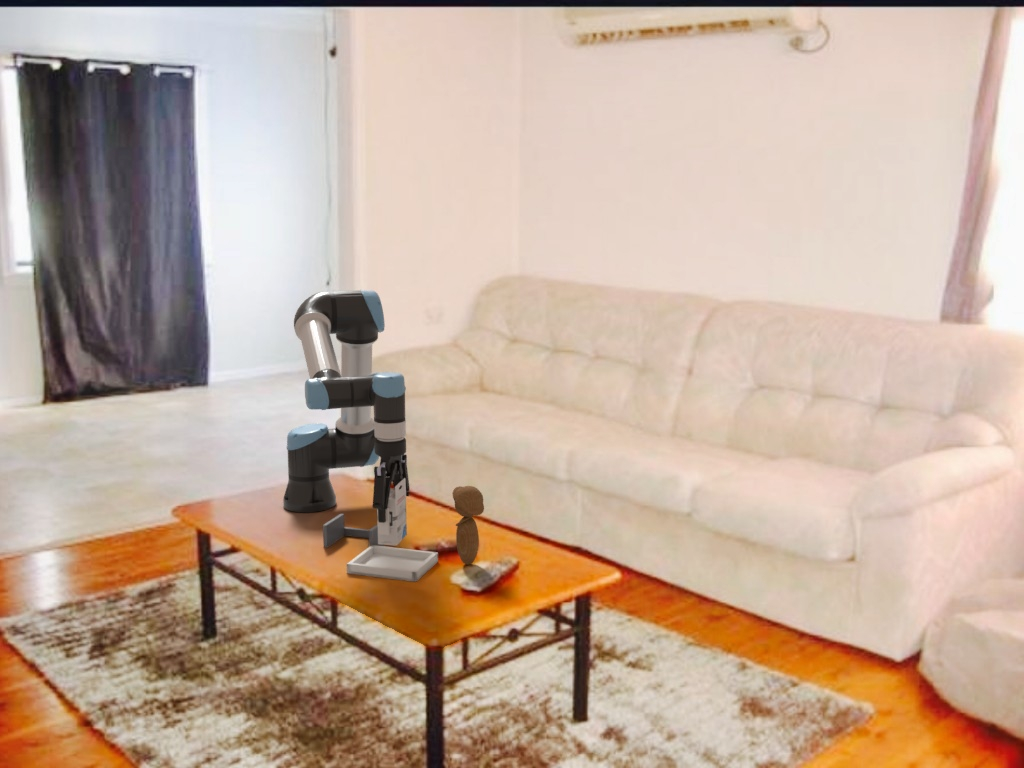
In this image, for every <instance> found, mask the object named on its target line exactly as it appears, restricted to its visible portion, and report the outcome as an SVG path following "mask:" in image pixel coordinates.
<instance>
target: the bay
mask: <svg viewBox="0 0 1024 768" xmlns="http://www.w3.org/2000/svg"><path fill="white" fill-rule="evenodd" d="M345 524H346V523H345V514H344V513H339V514H337V515H336V516H335V517H333V518H332V519H330V520H329V521H326V522H325V523H324V524H323V525H322V537H323V541H322V542H323V548H326V549H328V548H329V547H330V546H332V545H333V544H335V543H336V542H338V541H339V540H341V539H342V538H343V537H344V536H346V537H348V536H349V537H355V538H356V537H357V538H362V539H365V538H366V539H368V547H370V546H371V545H378V546H384V545H380V544H378V524H376V525H373V527H371V528H370V529H368V528H367V529H366V528H359V527H358V528H356V527H349V526H348V527H347V526H345Z"/></svg>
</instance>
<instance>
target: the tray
mask: <svg viewBox="0 0 1024 768" xmlns="http://www.w3.org/2000/svg"><path fill="white" fill-rule="evenodd" d="M438 562H439V552H436V551H427V550H418V549H413V548H412V549H411V548H402V547H401V548H400V547H396V546H395V547H394V546H393V547H392V546H387V545H383V546H378V545H371V546H370V547H369V546H368V547H367V548H366V549H365V550H363V551H362V552H360V553H358V555H356V556H355V557H354V558H353V559H351V560H350V561H348V562H347V563H346V574H351V575H359V576H367V577H374V578H380V579H381V578H382V579H390V580H398V581H403V582H404V581H407V582H418V581H419V580H420V579H421V578H422V577H423V576H424V575H425V574H426V573H427V572H429V571H430V570H431V569H432V568H433V567H434V566H435V565H436V564H437V563H438Z"/></svg>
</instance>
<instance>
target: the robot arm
mask: <svg viewBox="0 0 1024 768" xmlns="http://www.w3.org/2000/svg"><path fill="white" fill-rule="evenodd" d="M293 327H294V332H295V336H296V337H297V338H298V339H299V340H300V342H301V345H302V350H303V354H304V358H305V363H306V367H307V373H308V376H309V379H306V381H305V383H304V398H305V399H304V400H305V404H306V407H307V408H308V409H309V410H321V411H326V410H333V409H335V410H336V409H337V410H338V409H340V417H339V418H338V419H337V420H336V421H335V427H334V428H329V427H328V425H327V424H326V423H309V424H305V425H301V426H298V427H295V428H293V429H292V430H290V431H289V432H288V433H287V435H286V436H287V437H286V438H287V439H286V450H287V471H288V473H287V475H288V482H287V485H286V488H285V491H284V496H283V499H282V501H283V502H282V503H283V509H286V510H287V511H291V512H295V513H314V512H321V511H327V510H329V509H332V508H333V507H335V506H336V505H337V496H336V495H337V494H336V493H335V490H334V487H333V484H332V482H331V479H330V470H331V469H343V468H346V469H347V468H357V467H360V468H363V467H366V466H373V465H375V464H376V463H377V462H378V461H379V459H380V461H379V462H380V463H379V466H374V467H373V473H374V478H373V479H374V481H373V496H372V508H373V509H376V510H377V509H378V534H380V535H390V519H389V508H387V506H388V500H389V494H390V488H391V487H392V486H393V489H395V486H396V485H397V484H398V483H399V482H400V481H402V480H403V479H404V478H405V479H406V497H410V491H411V489H410V488H411V487H410V482H409V481H410V480H409V474H408V473H409V472H408V463H407V461H408V459H407V458H408V456H407V454H406V453H407V439H406V438H405V437H406V436H407V425H406V422H407V421H406V389H407V387H406V384H405V376H404V375H403V374H402V373H399V372H395V371H394V372H393V371H392V372H389V371H386V372H374V373H373V370H372V369H373V344H375V342H377V341H378V339H379V333H382V332H384V331H385V327H386V326H385V317H384V310H383V305H382V301H381V298H380V295H379V294H378V292H376V291H374V290H365V289H364V290H363V289H360V290H336V291H335V290H333V291H328V290H327V291H319V292H316V293H314V294H311V296H309V297H308V298H306V299H305V300H303V302H302V303H301V304H300V306H299V307H298V308H297V310H296V312H295V315H294V318H293ZM334 334H335V338H336V341H338V342H339V343H340V344H341V356H340V357H341V362H340V363H341V365H340V366H341V370H340V366H339V363H338V359H337V356H336V352H335V349H334V345H333V341H332V338H331V335H334ZM372 407H373V418H372V417H371V415H372ZM392 484H393V485H392ZM401 488H402V486H400V487H399V489H401Z"/></svg>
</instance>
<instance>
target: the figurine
mask: <svg viewBox="0 0 1024 768" xmlns="http://www.w3.org/2000/svg"><path fill="white" fill-rule="evenodd" d="M452 499H453V501H454V508H455V511H456V512H457V514H458V515H460V516H461V517H462V518H460V520H459V521H458V522H457V523H455V526H456V534H455V535H456V538H455V540H456V549H457V553H458V556H459V559H460V560H461V562H462V563H463V564H464V565H465V566H466V565H467V566H469V565H472V564H473V563H474V562H475V560H476V558H477V555H478V552H479V543H480V537H479V530H478V526H477V522H476V520H475V518H473V516H479V515H482V514H483V513H484V511H485V506H484V497H483V493H482V492H481V490H479V489H478V488H477V487H476V486H472V485H466V486H456V487H455V488H453V491H452Z"/></svg>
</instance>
